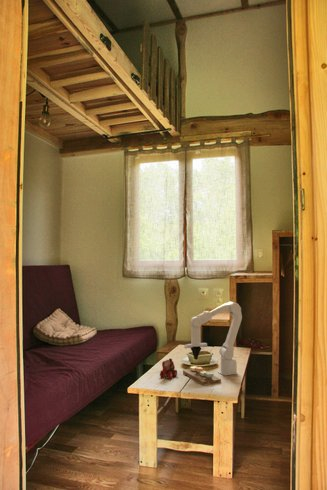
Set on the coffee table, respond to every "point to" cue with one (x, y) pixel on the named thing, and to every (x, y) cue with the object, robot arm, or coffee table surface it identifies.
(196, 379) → the brown wooden board
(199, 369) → the terracotta key
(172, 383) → the coffee table surface
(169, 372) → the dark red teddy bear
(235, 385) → the coffee table surface
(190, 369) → the cream key
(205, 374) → the pale grey cube
